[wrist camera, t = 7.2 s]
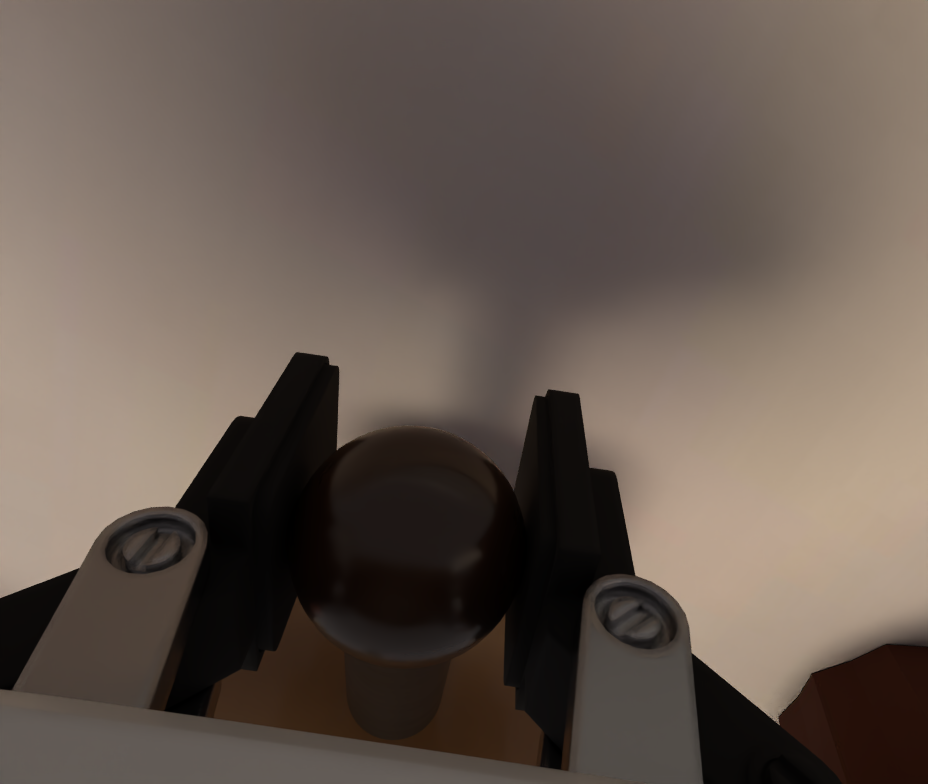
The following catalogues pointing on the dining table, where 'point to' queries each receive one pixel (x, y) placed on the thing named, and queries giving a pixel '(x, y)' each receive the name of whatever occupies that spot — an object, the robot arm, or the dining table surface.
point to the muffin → (867, 717)
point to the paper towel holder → (398, 603)
